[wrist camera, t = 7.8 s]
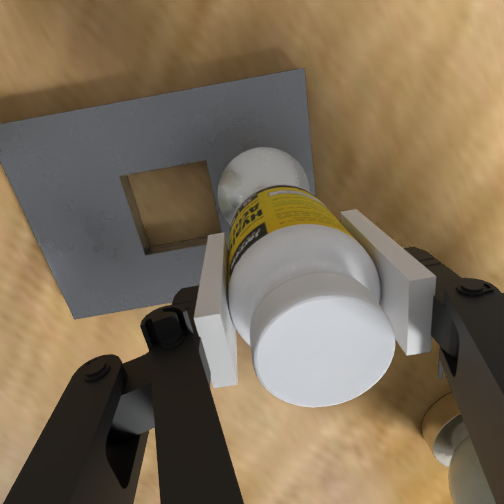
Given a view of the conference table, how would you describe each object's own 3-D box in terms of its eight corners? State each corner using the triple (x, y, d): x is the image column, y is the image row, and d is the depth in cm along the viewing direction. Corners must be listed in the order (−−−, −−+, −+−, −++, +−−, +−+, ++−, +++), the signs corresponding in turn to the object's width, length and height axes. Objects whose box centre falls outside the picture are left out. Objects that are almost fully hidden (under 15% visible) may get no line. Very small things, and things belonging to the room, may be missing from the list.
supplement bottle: (240, 170, 17) (256, 246, 8) (341, 194, 17) (462, 289, 8) (218, 266, 19) (210, 414, 10) (309, 283, 19) (380, 435, 10)
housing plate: (82, 308, 31) (72, 321, 29) (0, 125, 24) (-20, 127, 22) (317, 266, 30) (323, 277, 28) (299, 70, 24) (305, 67, 22)
